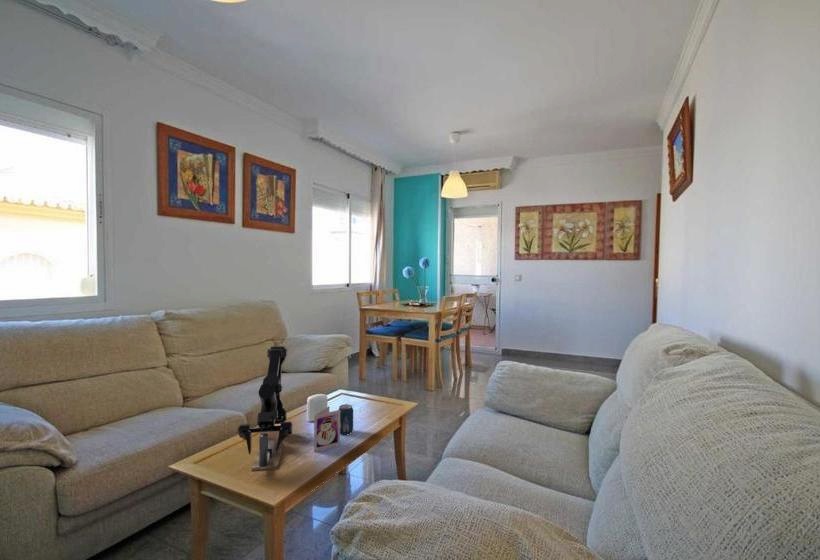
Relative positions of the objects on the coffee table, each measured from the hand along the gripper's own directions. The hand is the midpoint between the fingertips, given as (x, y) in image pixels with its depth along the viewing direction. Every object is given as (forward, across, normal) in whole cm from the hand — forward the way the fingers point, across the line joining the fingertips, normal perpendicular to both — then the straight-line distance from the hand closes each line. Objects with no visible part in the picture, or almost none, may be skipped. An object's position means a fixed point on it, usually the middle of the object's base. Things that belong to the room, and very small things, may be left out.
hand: (263, 453), depth 135 cm
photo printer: (-29, +18, +40) cm, 53 cm away
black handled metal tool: (-1, 0, +10) cm, 10 cm away
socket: (-10, 0, +20) cm, 22 cm away
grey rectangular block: (-5, 0, +14) cm, 15 cm away
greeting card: (-8, +21, +19) cm, 30 cm away
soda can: (-16, +31, +27) cm, 44 cm away
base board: (-4, 0, +15) cm, 16 cm away
